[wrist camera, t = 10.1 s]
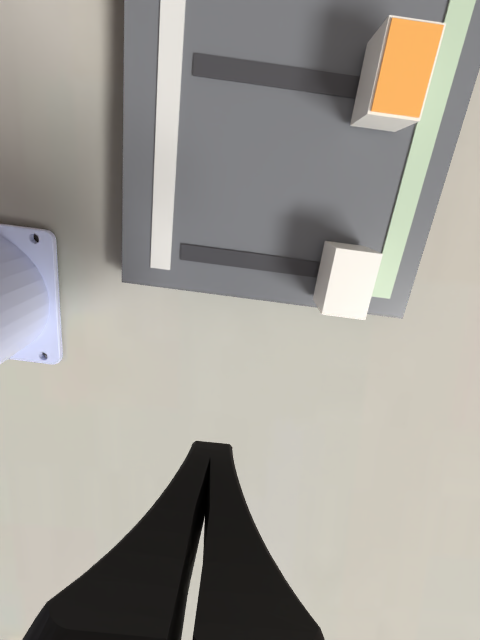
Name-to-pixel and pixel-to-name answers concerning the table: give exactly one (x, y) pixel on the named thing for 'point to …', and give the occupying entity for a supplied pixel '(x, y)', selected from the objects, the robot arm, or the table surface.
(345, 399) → the table surface
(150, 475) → the table surface
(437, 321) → the table surface
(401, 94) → the block
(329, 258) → the block
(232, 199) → the panel
